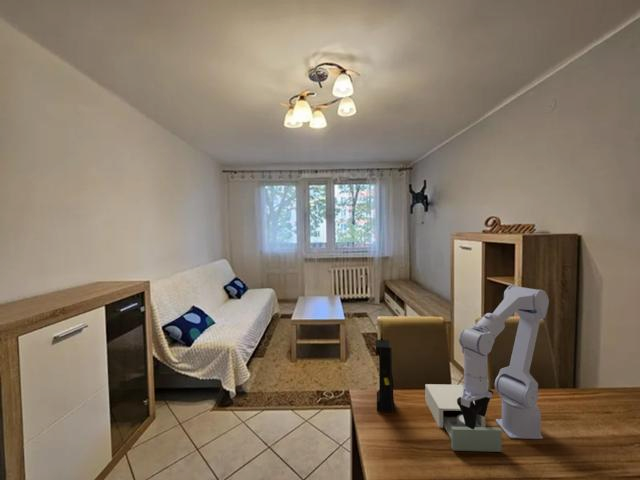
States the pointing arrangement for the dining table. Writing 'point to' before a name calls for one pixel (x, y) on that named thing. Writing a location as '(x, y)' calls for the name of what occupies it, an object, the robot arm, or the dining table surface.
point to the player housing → (445, 401)
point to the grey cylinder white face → (462, 421)
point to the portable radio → (385, 376)
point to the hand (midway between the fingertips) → (475, 420)
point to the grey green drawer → (473, 437)
